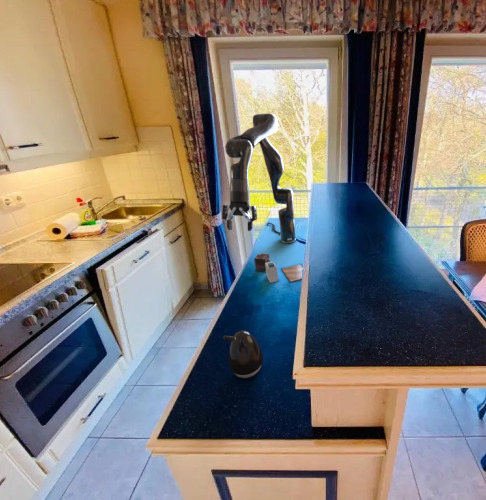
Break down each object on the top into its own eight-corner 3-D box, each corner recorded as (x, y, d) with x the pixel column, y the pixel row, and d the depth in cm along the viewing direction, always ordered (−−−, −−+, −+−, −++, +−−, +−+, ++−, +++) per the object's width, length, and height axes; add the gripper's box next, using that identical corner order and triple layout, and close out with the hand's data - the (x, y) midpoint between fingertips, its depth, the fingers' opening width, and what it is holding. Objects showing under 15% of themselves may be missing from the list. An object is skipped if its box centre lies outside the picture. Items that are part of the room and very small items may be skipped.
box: (266, 271, 143) (265, 259, 140) (255, 271, 144) (253, 258, 141) (270, 266, 148) (269, 253, 145) (260, 265, 149) (258, 253, 146)
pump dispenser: (234, 358, 93) (226, 322, 86) (266, 356, 93) (260, 320, 86) (227, 384, 84) (218, 347, 77) (262, 382, 84) (255, 344, 77)
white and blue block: (266, 277, 138) (264, 260, 134) (274, 275, 140) (272, 258, 136) (270, 282, 133) (267, 266, 129) (278, 280, 135) (276, 264, 131)
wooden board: (281, 269, 145) (281, 268, 145) (299, 264, 148) (299, 264, 148) (290, 282, 133) (290, 281, 133) (309, 277, 137) (309, 276, 137)
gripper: (259, 191, 117) (259, 230, 119) (227, 190, 119) (227, 228, 121) (252, 190, 109) (252, 232, 112) (218, 189, 111) (219, 230, 114)
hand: (239, 230), depth 117 cm, fingers open, 8 cm apart
